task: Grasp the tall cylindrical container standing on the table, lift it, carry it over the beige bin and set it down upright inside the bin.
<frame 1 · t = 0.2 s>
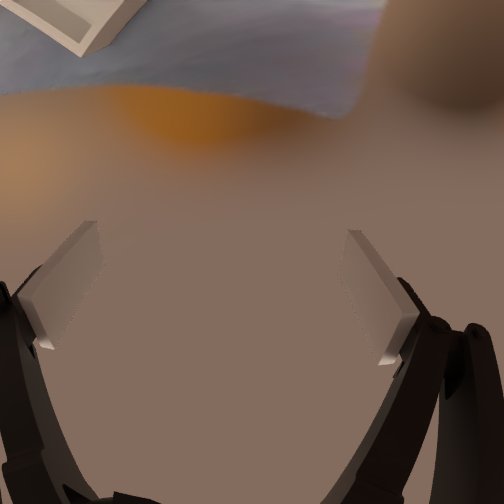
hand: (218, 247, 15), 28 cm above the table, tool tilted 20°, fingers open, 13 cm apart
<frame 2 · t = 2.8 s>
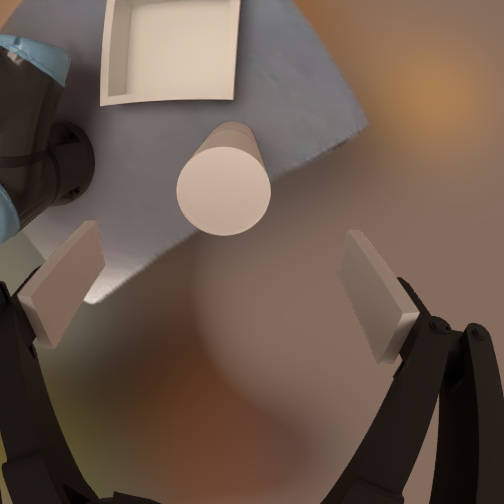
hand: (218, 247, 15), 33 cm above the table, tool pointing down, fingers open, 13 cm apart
cylindrical container: (232, 143, 44), on the table
beige bin: (178, 45, 35), on the table
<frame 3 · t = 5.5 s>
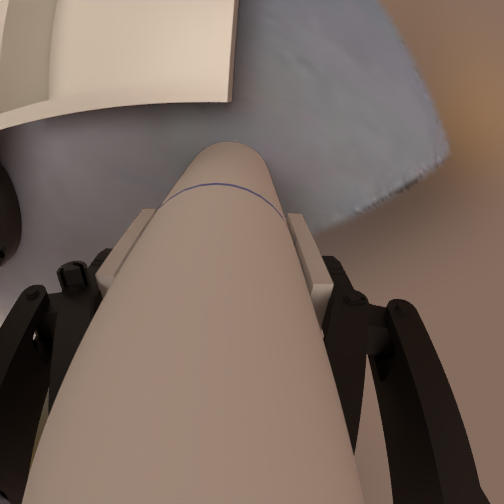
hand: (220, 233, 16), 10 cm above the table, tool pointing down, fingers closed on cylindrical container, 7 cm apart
cylindrical container: (228, 181, 25), on the table, touching gripper
beige bin: (132, 10, 17), on the table
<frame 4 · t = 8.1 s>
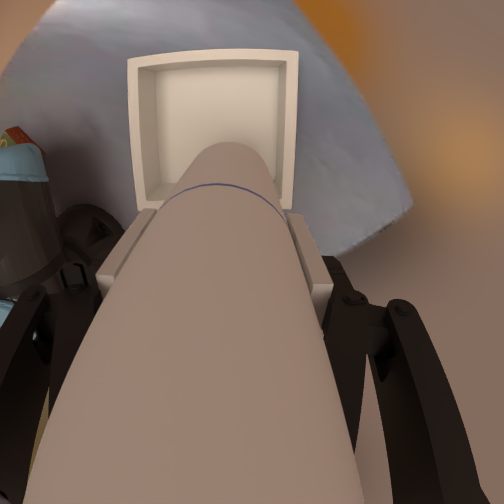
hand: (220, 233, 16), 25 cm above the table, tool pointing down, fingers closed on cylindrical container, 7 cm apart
cylindrical container: (228, 181, 25), point 15 cm above the table, touching gripper
carton: (15, 174, 37), on the table
beige bin: (216, 124, 36), on the table
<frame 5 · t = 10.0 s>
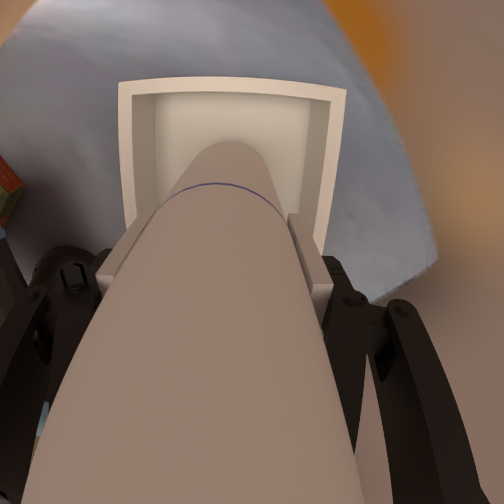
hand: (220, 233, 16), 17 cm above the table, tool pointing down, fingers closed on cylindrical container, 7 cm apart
cylindrical container: (228, 181, 25), point 6 cm above the table, touching gripper
beige bin: (229, 165, 31), on the table
when the fingers open (13 cm above the table, at t = 11.2 s): cylindrical container drops 1 cm, resting on beige bin.
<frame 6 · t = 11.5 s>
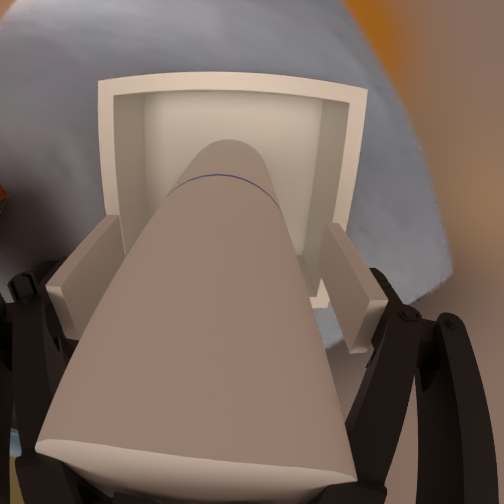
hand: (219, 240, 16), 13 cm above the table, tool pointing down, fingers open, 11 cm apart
cylindrical container: (228, 177, 27), point 1 cm above the table, touching beige bin
beige bin: (229, 174, 27), on the table
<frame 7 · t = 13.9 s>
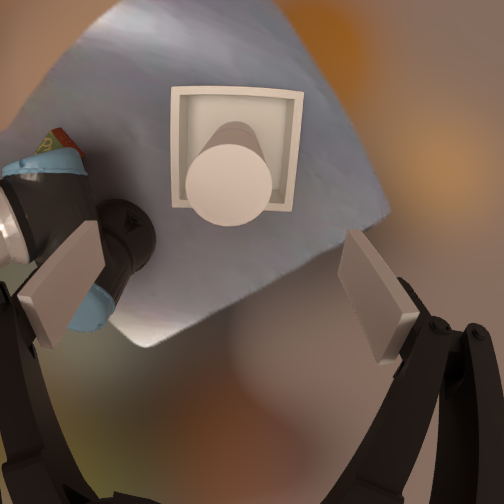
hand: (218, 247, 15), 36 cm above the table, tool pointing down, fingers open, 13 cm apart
cylindrical container: (234, 142, 46), point 1 cm above the table, touching beige bin
carton: (52, 168, 47), on the table
beige bin: (235, 141, 47), on the table
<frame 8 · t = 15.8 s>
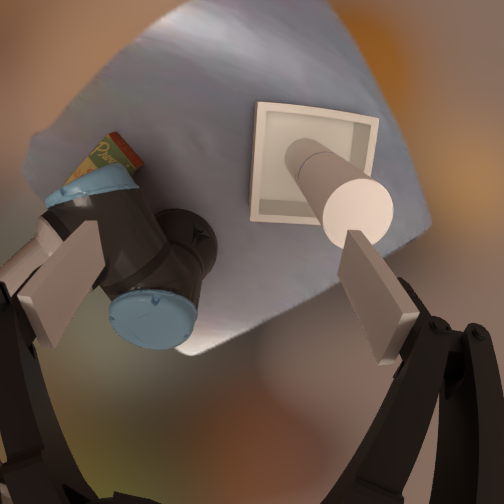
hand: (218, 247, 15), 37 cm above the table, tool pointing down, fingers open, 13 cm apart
cylindrical container: (305, 158, 48), point 1 cm above the table, touching beige bin
carton: (102, 174, 49), on the table
beige bin: (304, 157, 48), on the table
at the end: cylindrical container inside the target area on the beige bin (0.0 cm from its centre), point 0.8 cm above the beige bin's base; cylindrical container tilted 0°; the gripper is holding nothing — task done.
